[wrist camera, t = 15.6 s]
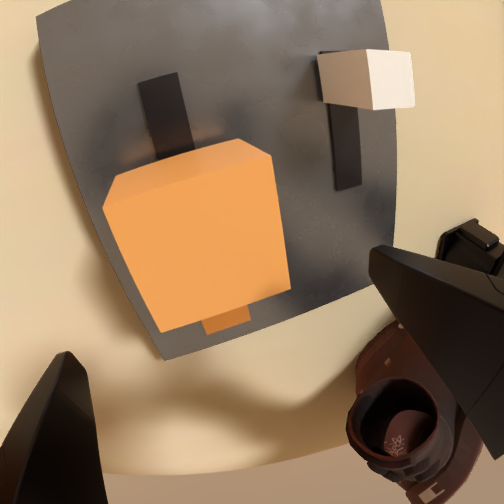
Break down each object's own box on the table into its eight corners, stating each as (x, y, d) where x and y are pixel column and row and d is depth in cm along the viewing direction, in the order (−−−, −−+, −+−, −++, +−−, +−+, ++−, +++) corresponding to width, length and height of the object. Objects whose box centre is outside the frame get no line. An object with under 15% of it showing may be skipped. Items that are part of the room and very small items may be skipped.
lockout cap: (259, 244, 16) (290, 288, 12) (155, 278, 15) (161, 332, 12) (238, 138, 13) (271, 155, 9) (115, 175, 12) (102, 208, 9)
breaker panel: (375, 263, 24) (391, 278, 22) (161, 340, 21) (165, 364, 19) (354, -20, 12) (376, -28, 10) (48, 24, 9) (33, 15, 7)
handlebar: (436, 371, 45) (496, 444, 28) (383, 415, 46) (436, 493, 30) (346, 198, 20) (593, 413, 3) (212, 320, 21) (329, 601, 5)
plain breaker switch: (363, 98, 14) (415, 106, 11) (323, 102, 14) (373, 110, 10) (357, 54, 13) (410, 52, 10) (316, 54, 12) (366, 49, 9)
